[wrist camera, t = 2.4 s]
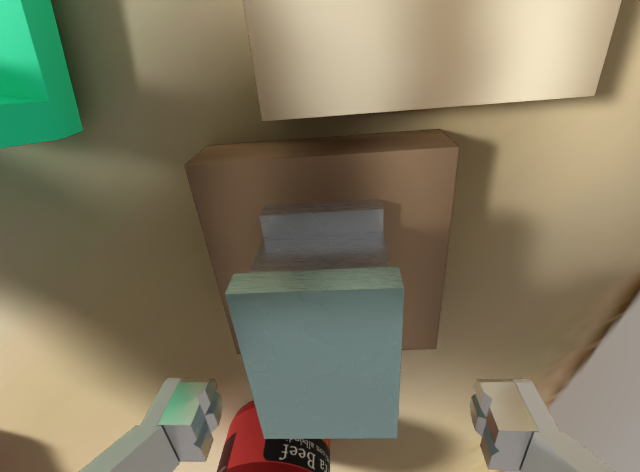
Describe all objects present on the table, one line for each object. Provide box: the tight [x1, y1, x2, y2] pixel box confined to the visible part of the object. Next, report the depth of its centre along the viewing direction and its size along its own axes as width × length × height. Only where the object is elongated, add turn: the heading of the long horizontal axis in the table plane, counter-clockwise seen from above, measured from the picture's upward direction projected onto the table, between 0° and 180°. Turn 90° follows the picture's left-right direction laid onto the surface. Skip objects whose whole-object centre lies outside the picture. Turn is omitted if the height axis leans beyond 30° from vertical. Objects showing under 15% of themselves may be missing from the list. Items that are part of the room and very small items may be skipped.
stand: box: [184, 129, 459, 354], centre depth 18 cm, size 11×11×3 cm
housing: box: [225, 199, 404, 439], centre depth 14 cm, size 5×7×6 cm
